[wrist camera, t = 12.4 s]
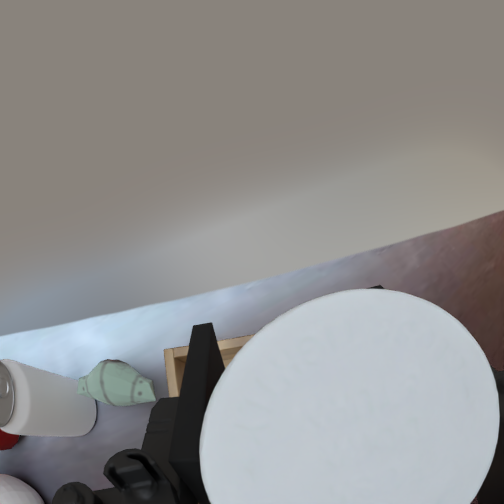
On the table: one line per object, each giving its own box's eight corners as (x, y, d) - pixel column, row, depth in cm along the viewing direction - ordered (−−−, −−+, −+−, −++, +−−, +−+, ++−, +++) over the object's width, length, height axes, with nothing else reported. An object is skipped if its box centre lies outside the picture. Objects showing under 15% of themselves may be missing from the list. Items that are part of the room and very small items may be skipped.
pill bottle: (258, 350, 15) (217, 229, 5) (374, 367, 14) (518, 278, 4) (231, 462, 13) (131, 555, 3) (352, 479, 11) (473, 572, 2)
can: (109, 417, 25) (28, 410, 14) (72, 446, 23) (-9, 445, 13) (79, 368, 27) (1, 338, 17) (46, 398, 26) (-33, 378, 15)
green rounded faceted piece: (102, 404, 26) (63, 398, 20) (103, 366, 28) (65, 352, 22) (174, 409, 25) (145, 408, 19) (173, 368, 27) (145, 355, 21)
